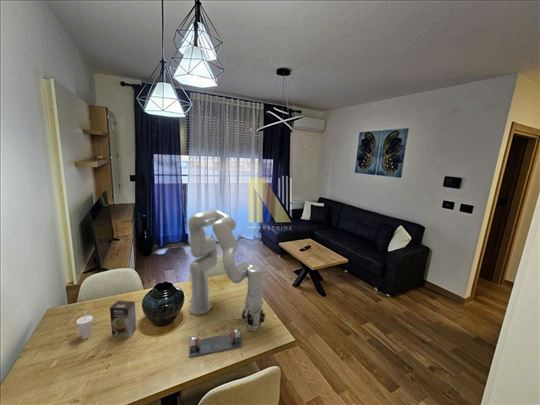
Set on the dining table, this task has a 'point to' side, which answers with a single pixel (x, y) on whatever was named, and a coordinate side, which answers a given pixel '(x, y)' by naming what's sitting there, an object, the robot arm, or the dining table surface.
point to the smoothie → (85, 325)
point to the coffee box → (123, 318)
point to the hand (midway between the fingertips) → (253, 320)
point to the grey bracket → (214, 343)
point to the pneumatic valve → (255, 319)
